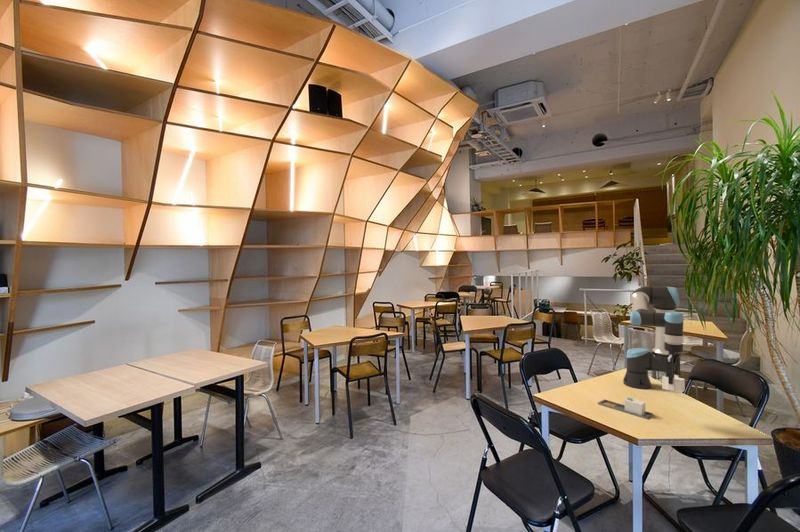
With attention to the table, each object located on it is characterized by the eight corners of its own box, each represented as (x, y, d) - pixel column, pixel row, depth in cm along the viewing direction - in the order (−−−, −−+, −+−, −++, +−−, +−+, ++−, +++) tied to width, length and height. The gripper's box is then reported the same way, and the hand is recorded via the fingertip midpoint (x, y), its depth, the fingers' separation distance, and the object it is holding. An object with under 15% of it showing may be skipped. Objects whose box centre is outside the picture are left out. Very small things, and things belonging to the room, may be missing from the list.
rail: (602, 401, 211) (602, 398, 211) (653, 416, 191) (653, 413, 191) (596, 405, 206) (596, 402, 206) (647, 421, 186) (647, 417, 186)
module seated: (628, 408, 199) (628, 396, 198) (645, 413, 192) (645, 400, 192) (624, 411, 195) (624, 398, 195) (641, 416, 189) (641, 403, 189)
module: (665, 386, 190) (665, 373, 190) (684, 390, 184) (684, 377, 183) (662, 388, 187) (662, 375, 187) (681, 393, 180) (681, 379, 180)
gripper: (670, 338, 193) (670, 382, 194) (658, 344, 182) (657, 390, 183) (688, 341, 187) (688, 386, 188) (676, 347, 176) (676, 395, 177)
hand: (673, 388), depth 185 cm, fingers closed on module, 5 cm apart
